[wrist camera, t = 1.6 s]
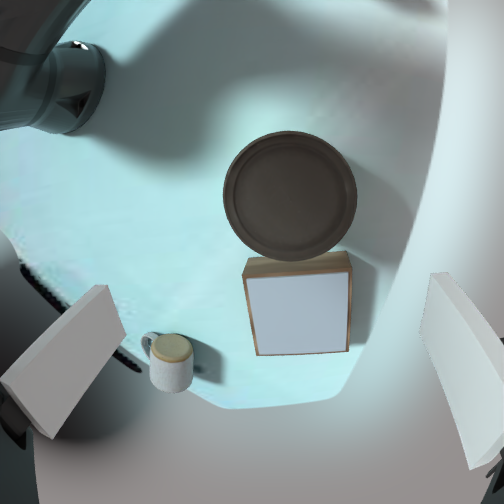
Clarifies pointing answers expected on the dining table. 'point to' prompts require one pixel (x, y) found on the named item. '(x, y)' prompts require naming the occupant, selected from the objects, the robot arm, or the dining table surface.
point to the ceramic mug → (169, 361)
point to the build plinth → (299, 304)
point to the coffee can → (290, 196)
